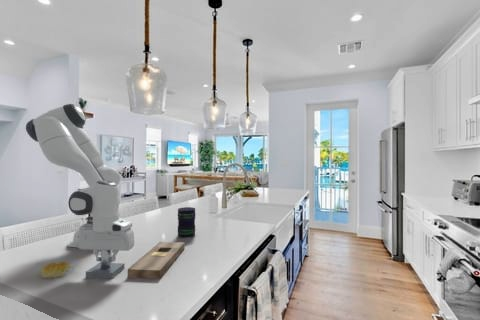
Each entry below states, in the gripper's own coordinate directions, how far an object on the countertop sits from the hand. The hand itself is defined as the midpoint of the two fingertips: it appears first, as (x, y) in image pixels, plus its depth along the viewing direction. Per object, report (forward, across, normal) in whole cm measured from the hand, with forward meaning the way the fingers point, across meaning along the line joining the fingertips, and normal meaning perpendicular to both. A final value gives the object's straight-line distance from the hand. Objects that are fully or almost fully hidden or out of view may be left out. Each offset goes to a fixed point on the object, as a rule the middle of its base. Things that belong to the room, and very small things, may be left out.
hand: (106, 261), depth 92 cm
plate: (+4, 0, 0) cm, 4 cm away
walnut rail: (+4, +16, +12) cm, 20 cm away
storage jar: (+5, +17, +48) cm, 51 cm away
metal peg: (+2, 0, 0) cm, 2 cm away
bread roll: (+5, -18, -2) cm, 19 cm away
